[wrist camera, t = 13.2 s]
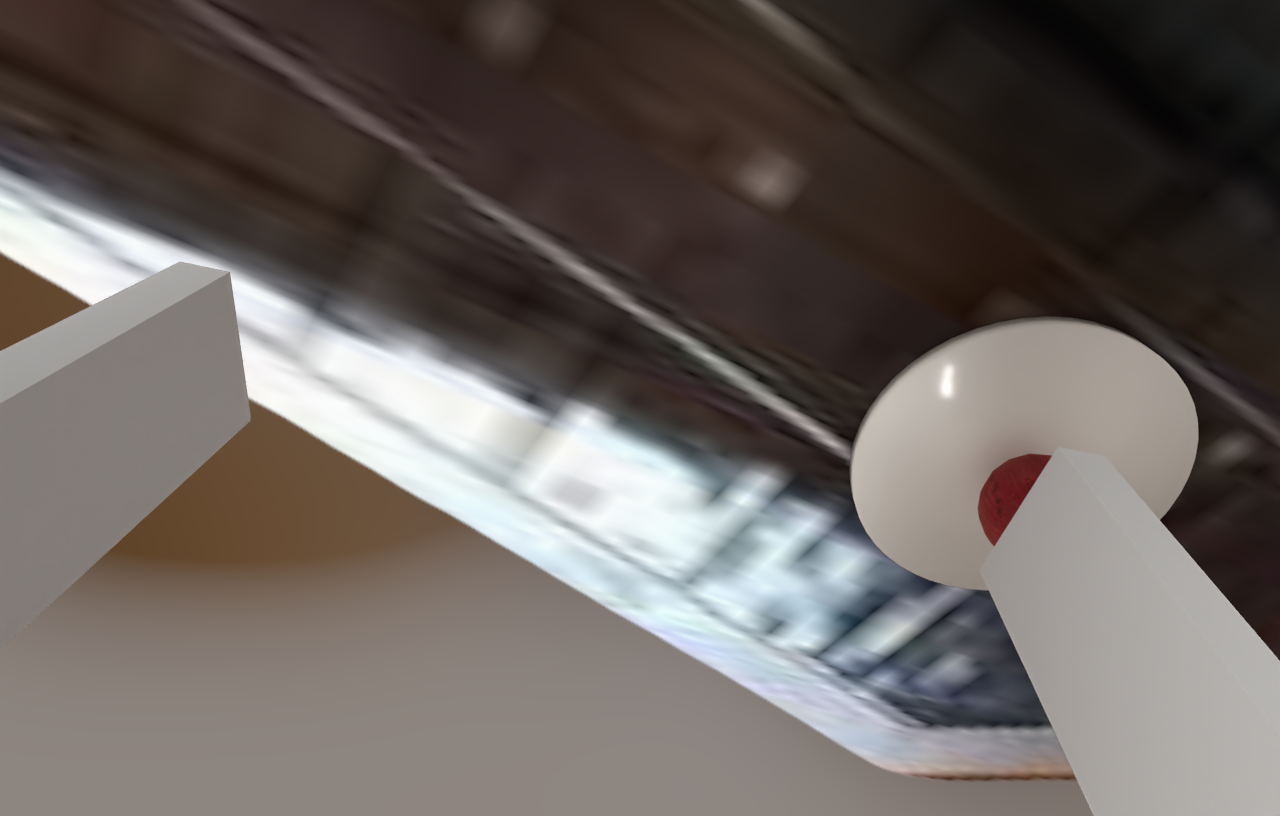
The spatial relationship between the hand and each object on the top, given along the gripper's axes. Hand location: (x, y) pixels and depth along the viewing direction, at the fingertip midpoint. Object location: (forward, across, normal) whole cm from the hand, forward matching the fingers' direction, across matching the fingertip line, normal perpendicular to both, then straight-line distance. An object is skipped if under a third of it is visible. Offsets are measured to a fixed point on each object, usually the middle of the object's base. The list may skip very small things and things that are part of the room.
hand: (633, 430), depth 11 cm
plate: (+25, +22, -13) cm, 36 cm away
